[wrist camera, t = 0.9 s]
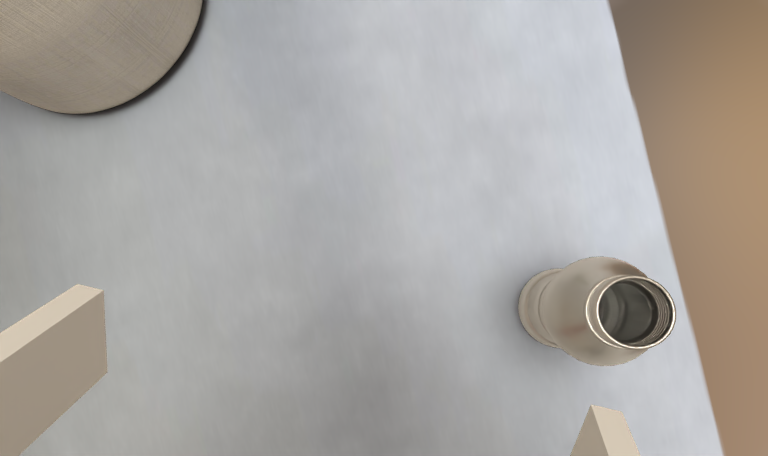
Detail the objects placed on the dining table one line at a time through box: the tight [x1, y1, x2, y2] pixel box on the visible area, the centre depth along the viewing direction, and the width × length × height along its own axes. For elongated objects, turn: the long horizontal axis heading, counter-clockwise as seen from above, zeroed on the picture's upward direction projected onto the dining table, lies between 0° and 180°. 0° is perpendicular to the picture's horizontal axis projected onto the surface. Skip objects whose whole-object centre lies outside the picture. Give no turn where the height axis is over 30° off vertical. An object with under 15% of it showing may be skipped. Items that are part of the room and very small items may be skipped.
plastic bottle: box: [518, 257, 676, 366], centre depth 34 cm, size 6×7×20 cm
